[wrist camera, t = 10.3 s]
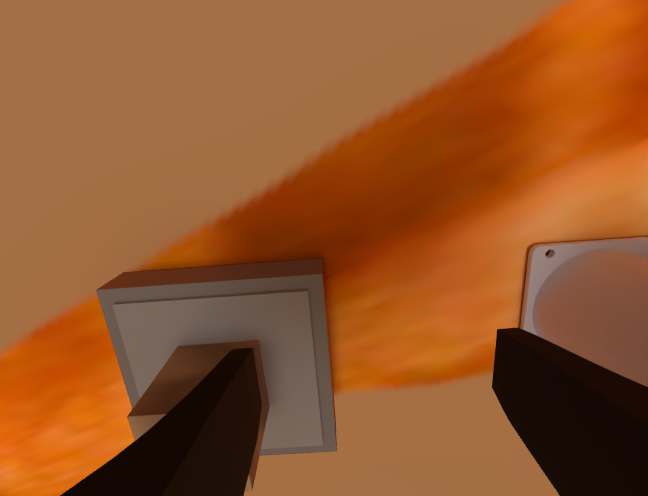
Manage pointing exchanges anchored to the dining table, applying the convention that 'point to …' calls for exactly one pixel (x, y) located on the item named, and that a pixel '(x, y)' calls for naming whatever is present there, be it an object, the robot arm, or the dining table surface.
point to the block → (183, 377)
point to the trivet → (235, 336)
